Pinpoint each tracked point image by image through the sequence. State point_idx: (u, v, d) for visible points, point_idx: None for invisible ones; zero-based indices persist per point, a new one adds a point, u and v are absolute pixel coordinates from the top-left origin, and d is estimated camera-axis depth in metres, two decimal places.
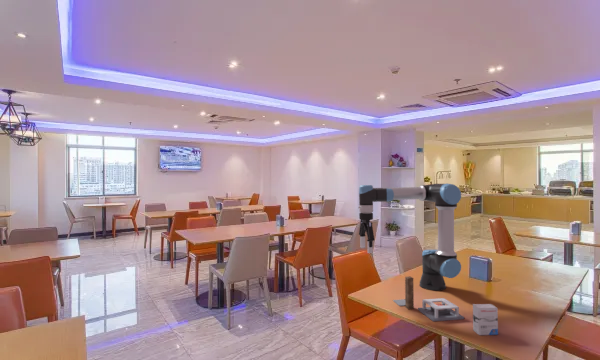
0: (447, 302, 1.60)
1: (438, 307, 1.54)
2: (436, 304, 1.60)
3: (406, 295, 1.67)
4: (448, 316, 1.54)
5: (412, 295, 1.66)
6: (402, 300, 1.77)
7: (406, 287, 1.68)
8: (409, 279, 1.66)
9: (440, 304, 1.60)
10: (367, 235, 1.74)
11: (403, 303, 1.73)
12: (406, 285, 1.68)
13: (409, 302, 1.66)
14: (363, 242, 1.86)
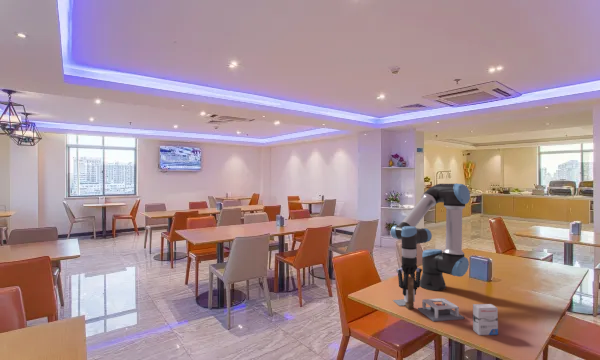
0: (447, 302, 1.60)
1: (438, 307, 1.54)
2: (436, 304, 1.60)
3: None
4: (448, 316, 1.54)
5: (412, 295, 1.66)
6: (402, 300, 1.77)
7: None
8: (409, 279, 1.66)
9: (440, 304, 1.60)
10: None
11: (403, 303, 1.73)
12: None
13: (409, 302, 1.66)
14: None
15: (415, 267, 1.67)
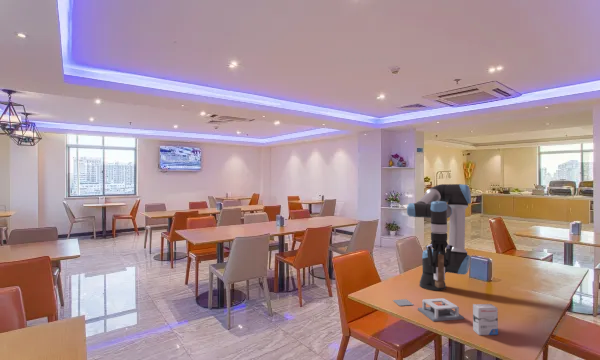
0: (447, 302, 1.60)
1: (438, 307, 1.54)
2: (436, 304, 1.60)
3: None
4: (448, 316, 1.54)
5: (442, 273, 1.58)
6: (402, 300, 1.77)
7: None
8: (439, 256, 1.58)
9: (440, 304, 1.60)
10: None
11: (403, 303, 1.73)
12: None
13: (439, 280, 1.58)
14: None
15: (445, 244, 1.59)
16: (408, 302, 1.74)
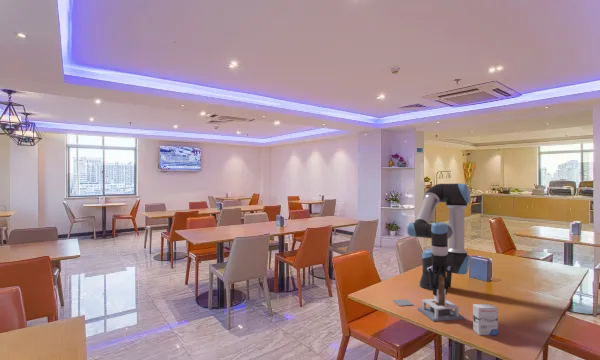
0: (447, 302, 1.60)
1: (438, 307, 1.54)
2: None
3: None
4: (448, 316, 1.54)
5: (443, 295, 1.58)
6: (402, 300, 1.77)
7: None
8: (440, 278, 1.58)
9: None
10: None
11: (403, 303, 1.73)
12: None
13: (440, 302, 1.58)
14: None
15: (446, 265, 1.59)
16: (408, 302, 1.74)
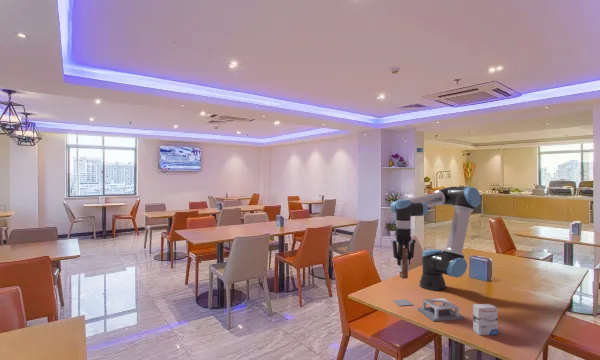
0: (447, 302, 1.60)
1: (438, 307, 1.54)
2: None
3: None
4: (448, 316, 1.54)
5: (406, 265, 1.73)
6: (402, 300, 1.77)
7: None
8: (403, 249, 1.73)
9: None
10: None
11: (403, 303, 1.73)
12: None
13: (403, 272, 1.73)
14: None
15: (409, 238, 1.74)
16: (408, 302, 1.74)
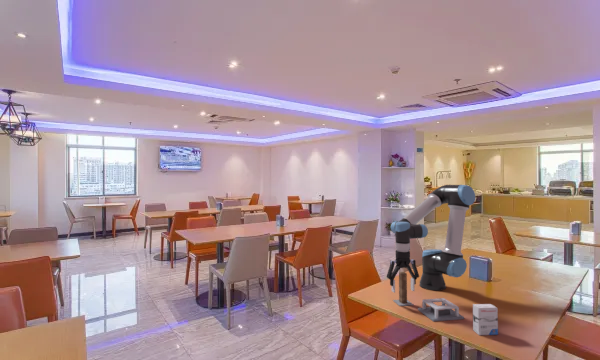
0: (447, 302, 1.60)
1: (438, 307, 1.54)
2: None
3: (400, 290, 1.74)
4: (448, 316, 1.54)
5: (405, 290, 1.73)
6: None
7: (400, 282, 1.74)
8: (402, 274, 1.73)
9: None
10: None
11: (403, 303, 1.73)
12: (400, 280, 1.74)
13: (403, 296, 1.73)
14: (412, 284, 1.75)
15: (408, 261, 1.74)
16: (408, 302, 1.74)
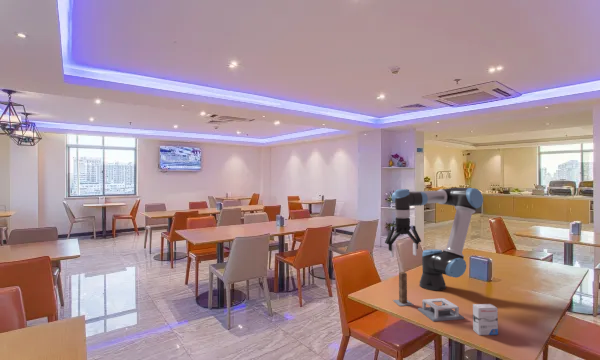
0: (447, 302, 1.60)
1: (438, 307, 1.54)
2: None
3: (400, 290, 1.74)
4: (448, 316, 1.54)
5: (405, 290, 1.73)
6: None
7: (400, 282, 1.74)
8: (402, 274, 1.73)
9: None
10: None
11: (403, 303, 1.73)
12: (400, 280, 1.74)
13: (403, 296, 1.73)
14: (414, 249, 1.77)
15: (408, 227, 1.76)
16: (408, 302, 1.74)
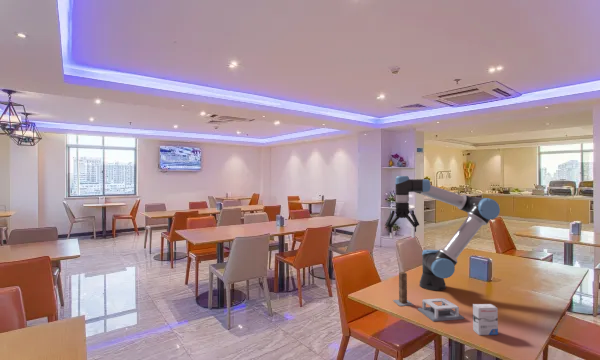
0: (447, 302, 1.60)
1: (438, 307, 1.54)
2: None
3: (400, 290, 1.74)
4: (448, 316, 1.54)
5: (405, 290, 1.73)
6: None
7: (400, 282, 1.74)
8: (402, 274, 1.73)
9: None
10: None
11: (403, 303, 1.73)
12: (400, 280, 1.74)
13: (403, 296, 1.73)
14: (412, 232, 1.90)
15: (407, 211, 1.89)
16: (408, 302, 1.74)
